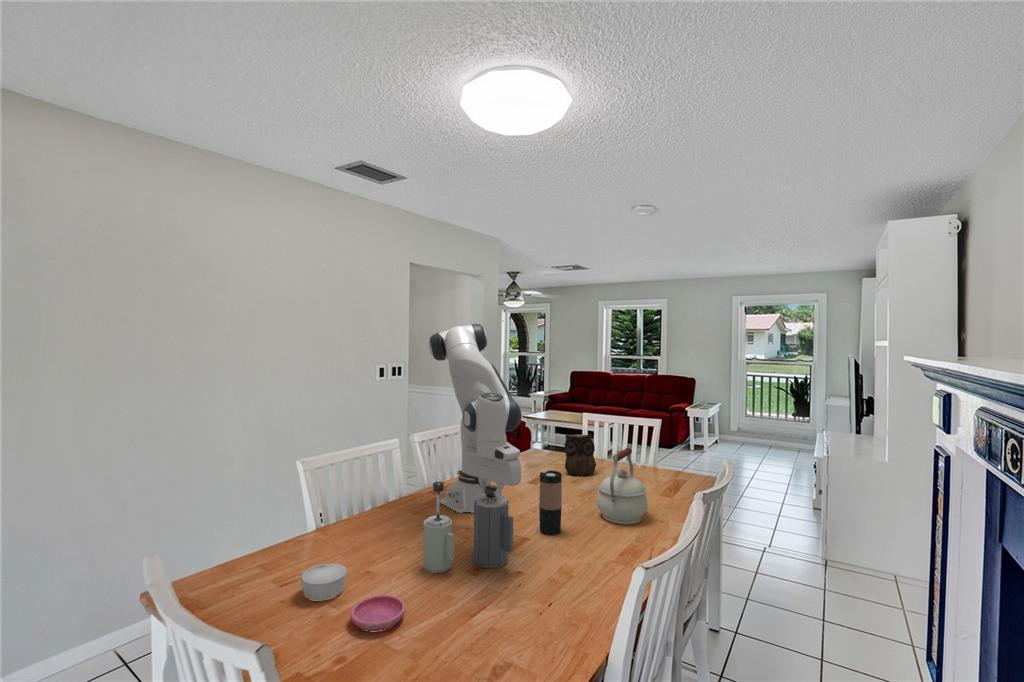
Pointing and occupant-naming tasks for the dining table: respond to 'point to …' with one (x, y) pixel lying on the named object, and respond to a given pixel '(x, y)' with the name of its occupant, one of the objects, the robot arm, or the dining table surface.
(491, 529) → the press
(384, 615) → the saucer
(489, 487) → the plunger
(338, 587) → the ramekin
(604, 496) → the kettle
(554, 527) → the travel mug
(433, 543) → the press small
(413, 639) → the dining table surface
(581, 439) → the owl
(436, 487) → the plunger small
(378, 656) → the dining table surface
